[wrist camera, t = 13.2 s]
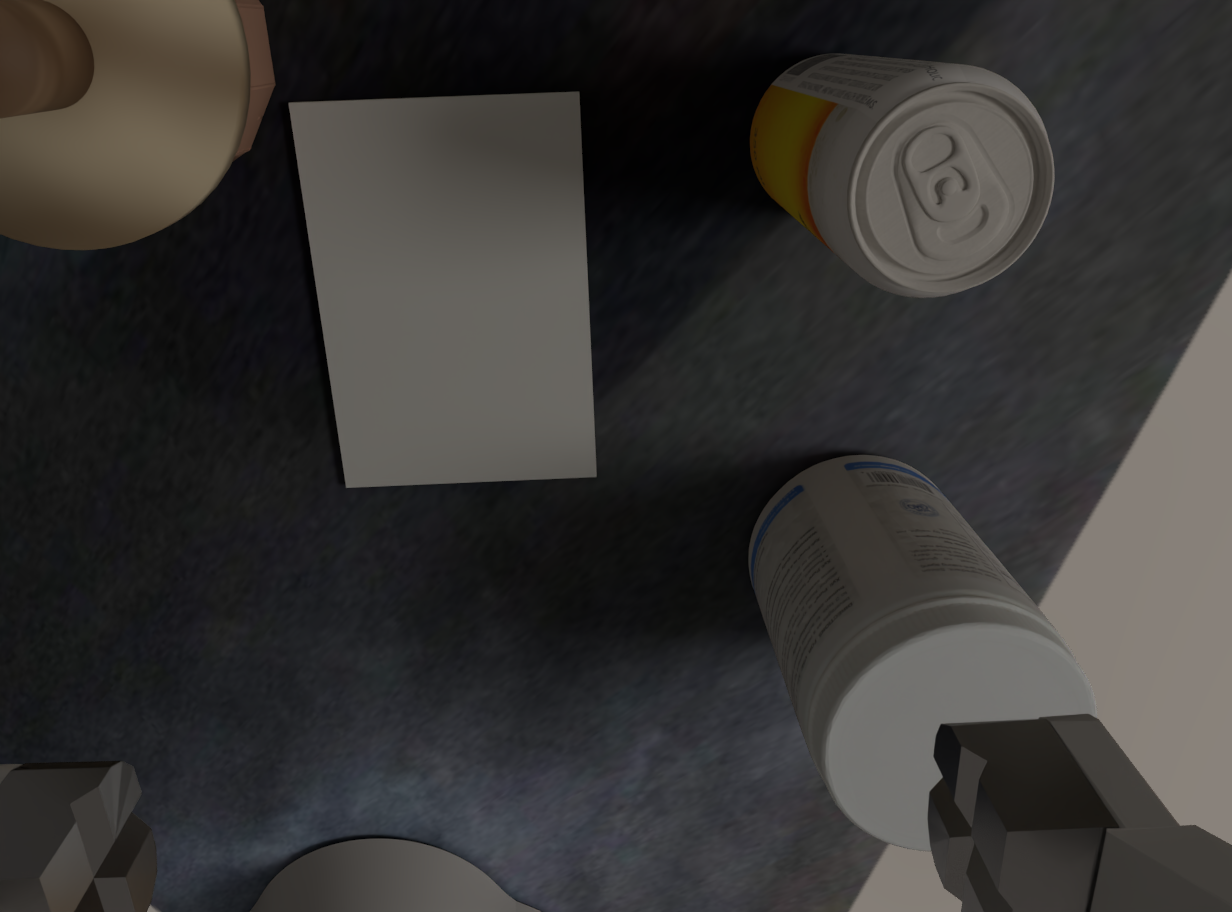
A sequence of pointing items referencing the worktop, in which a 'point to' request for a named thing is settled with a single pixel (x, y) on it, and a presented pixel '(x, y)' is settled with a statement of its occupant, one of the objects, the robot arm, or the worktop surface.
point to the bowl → (256, 68)
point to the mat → (452, 284)
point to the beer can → (906, 167)
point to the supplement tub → (896, 634)
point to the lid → (115, 115)
